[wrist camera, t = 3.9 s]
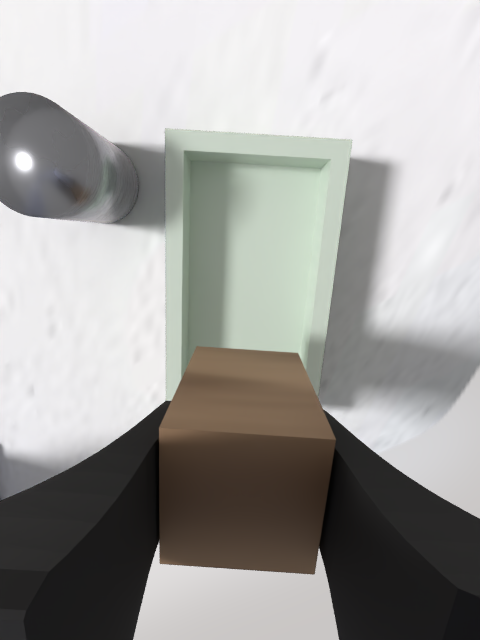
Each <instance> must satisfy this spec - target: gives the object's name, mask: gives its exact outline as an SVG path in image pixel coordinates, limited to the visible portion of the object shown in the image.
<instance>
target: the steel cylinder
mask: <svg viewBox="0 0 480 640" xmlns="http://www.w3.org/2000/svg"><path fill="white" fill-rule="evenodd" d="M137 196H138V177H137V173H136V170H135V168H134V166H133V164H132V162H131V160H130V159H129V158H128V156H127V155H126V154H125V153H124V152H123V151H122V150H121V149H119V148H118V147H117V146H115V145H114V144H112V143H111V142H110V141H108V140H107V139H105V138H104V137H102V136H101V135H100V134H98V133H97V132H95V131H94V130H93V129H91V128H90V127H88V126H87V125H86V124H84V123H83V122H81V121H80V120H79V119H77V118H76V117H74V116H73V115H71V114H70V113H69V112H67V111H66V110H64V109H63V108H62V107H60V106H59V105H57V104H56V103H54V102H53V101H51V100H49V99H48V98H45V97H43V96H41V95H37V94H34V93H27V92H16V93H10V94H7V95H4V96H2V97H0V201H1V202H2V203H3V204H4V205H6V206H7V207H9V208H10V209H12V210H14V211H16V212H18V213H21V214H23V215H27V216H32V217H41V218H51V219H62V220H73V221H83V222H94V223H112V222H115V221H118V220H120V219H122V218H123V217H125V216H126V215H127V214H128V213H129V212H130V211H131V209H132V208H133V206H134V204H135V202H136V199H137Z"/></svg>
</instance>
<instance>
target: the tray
mask: <svg viewBox="0 0 480 640" xmlns="http://www.w3.org/2000/svg"><path fill="white" fill-rule="evenodd" d="M351 146H352V140H349V139H332V138H316V137H299V136H282V135H266V134H249V133H233V132H216V131H200V130H183V129H166V128H165V284H166V401H172V399H173V396H174V394H175V392H176V390H177V388H178V385H179V383H180V381H181V379H182V377H183V375H184V372H185V370H186V368H187V366H188V364H189V362H190V359H191V357H192V355H193V353H194V351H195V348H196V346H201V347H216V348H232V349H247V350H262V351H278V352H293V353H298V354H299V356H300V358H301V361H302V363H303V365H304V368H305V370H306V372H307V374H308V377H309V379H310V381H311V384H312V386H313V388H314V390H315V393H316V395H317V397H318V395H319V387H320V380H321V372H322V365H323V357H324V350H325V342H326V335H327V327H328V320H329V312H330V305H331V297H332V290H333V282H334V274H335V267H336V259H337V252H338V244H339V237H340V229H341V222H342V214H343V207H344V199H345V192H346V184H347V177H348V169H349V162H350V154H351Z"/></svg>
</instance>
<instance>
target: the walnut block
mask: <svg viewBox="0 0 480 640" xmlns="http://www.w3.org/2000/svg"><path fill="white" fill-rule="evenodd" d="M335 443H336V438H335V436H334V434H333V432H332V429H331V427H330V425H329V422H328V420H327V418H326V416H325V413H324V411H323V409H322V406H321V404H320V402H319V400H318V397H317V395H316V393H315V390H314V388H313V386H312V384H311V381H310V379H309V377H308V374H307V372H306V370H305V368H304V365H303V363H302V361H301V358H300V356H299V354H298V353H293V352H278V351H262V350H247V349H232V348H216V347H201V346H196V348H195V351H194V353H193V355H192V357H191V359H190V362H189V364H188V366H187V368H186V370H185V372H184V375H183V377H182V379H181V381H180V383H179V385H178V388H177V390H176V392H175V394H174V396H173V399H172V401H171V403H170V405H169V407H168V409H167V412H166V414H165V416H164V418H163V420H162V422H161V425H160V427H159V522H160V564H170V565H184V566H201V567H214V568H229V569H243V570H257V571H273V572H286V573H301V574H315V568H316V561H317V556H318V549H319V543H320V537H321V531H322V524H323V518H324V512H325V506H326V499H327V493H328V487H329V481H330V474H331V468H332V462H333V455H334V449H335Z"/></svg>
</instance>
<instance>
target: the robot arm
mask: <svg viewBox="0 0 480 640" xmlns="http://www.w3.org/2000/svg"><path fill="white" fill-rule="evenodd" d="M170 403H171V401H165V402H164V403H163V404H161V405H160V406H159V407H158V408H156V409H155V410H154V411H153V412H152V413H150V414H149V415H148V416H147V417H146V418H144V419H143V420H142V421H141V422H139V423H138V424H137V425H135V426H134V427H133V428H132V429H130V430H129V431H128V432H126V433H125V434H123V435H122V436H121V437H119V438H118V439H116V440H115V441H114V442H112V443H111V444H109V445H108V446H106V447H105V448H103V449H102V450H100V451H99V452H97V453H96V454H94V455H92V456H91V457H89V458H87V459H86V460H84V461H82V462H80V463H79V464H77V465H75V466H73V467H72V468H70V469H68V470H66V471H64V472H62V473H60V474H58V475H56V476H54V477H52V478H50V479H48V480H46V481H44V482H42V483H40V484H38V485H36V486H34V487H32V488H29V489H27V490H25V491H23V492H20V493H18V494H16V495H13V496H11V497H9V498H6V499H4V500H1V501H0V640H133V637H134V633H135V629H136V624H137V620H138V615H139V612H140V607H141V603H142V599H143V595H144V591H145V587H146V583H147V578H148V574H149V571H150V567H151V564H152V560H153V557H154V554H155V551H156V548H157V545H158V542H159V539H160V522H159V427H160V425H161V422H162V420H163V418H164V416H165V414H166V412H167V409H168V407H169V405H170ZM323 411H324V413H325V416H326V418H327V420H328V422H329V425H330V427H331V429H332V432H333V434H334V436H335V438H336V443H335V449H334V455H333V462H332V468H331V474H330V481H329V487H328V493H327V499H326V506H325V512H324V518H323V524H322V531H321V537H320V543H319V548H320V552H321V555H322V559H323V562H324V566H325V570H326V574H327V578H328V583H329V588H330V593H331V598H332V603H333V609H334V614H335V619H336V624H337V630H338V636H339V640H480V519H479V518H477V517H475V516H473V515H471V514H470V513H468V512H466V511H464V510H462V509H461V508H459V507H457V506H455V505H453V504H452V503H450V502H448V501H446V500H444V499H443V498H441V497H439V496H437V495H436V494H434V493H433V492H431V491H429V490H428V489H426V488H424V487H423V486H422V485H420V484H418V483H417V482H415V481H414V480H412V479H411V478H409V477H407V476H406V475H405V474H403V473H402V472H400V471H399V470H397V469H396V468H395V467H393V466H392V465H390V464H389V463H388V462H387V461H385V460H384V459H382V458H381V457H380V456H379V455H377V454H376V453H375V452H373V451H372V450H371V449H370V448H368V447H367V446H366V445H365V444H364V443H362V442H361V441H360V440H359V439H358V438H356V437H355V436H354V435H353V434H352V433H351V432H349V431H348V430H347V429H346V428H345V427H344V426H343V425H341V424H340V423H339V422H338V421H337V420H336V419H335V418H333V417H332V416H331V415H330V414H329V413H328V412H326V411H325V410H323Z"/></svg>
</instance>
